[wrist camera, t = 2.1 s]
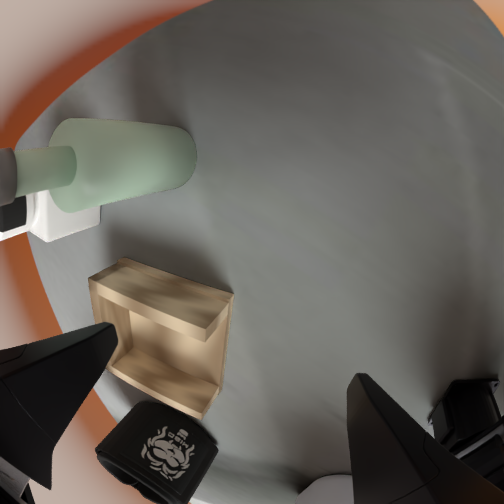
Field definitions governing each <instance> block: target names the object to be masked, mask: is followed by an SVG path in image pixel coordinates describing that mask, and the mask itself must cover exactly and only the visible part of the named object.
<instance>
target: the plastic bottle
mask: <svg viewBox="0 0 504 504" xmlns="http://www.w3.org/2000/svg"><path fill="white" fill-rule="evenodd" d="M295 504H354V497H353V482H352V476H351V475H330V476H325V477H322V478H319V479H317V480H316V481H314V482H313V483H312V484H311V485H310V486H309V487H307V488H306V489H305V490H304V491H303V492H302V493H300V494H299V495H298V496H297V498H296V501H295Z"/></svg>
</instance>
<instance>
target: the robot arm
mask: <svg viewBox="0 0 504 504" xmlns="http://www.w3.org/2000/svg"><path fill="white" fill-rule="evenodd" d="M117 345H118V336H117V332H116V328H115V325H114V324H112V323H109V322H102V323H98V324H95V325H91V326H88V327H85V328H81V329H78V330H74V331H71V332H68V333H64V334H61V335H57V336H54V337H50V338H47V339H43V340H39V341H36V342H32V343H29V344H24V345H21V346H16V347H12V348H8V349H3V350H0V504H35V502H34V499H33V496H32V493H31V490H30V486H29V483H28V481H29V480H30V478H31V479H32V480H34V481H36V482H37V483H39V484H40V485H42V486H44V487H45V488H47V489H49V490H51V486H52V481H51V480H52V454H53V450H54V447H55V446H56V444H57V442H58V440H59V439H60V437H61V436H62V434H63V433H64V431H65V429H66V428H67V426H68V425H69V423H70V421H71V420H72V418H73V417H74V415H75V414H76V412H77V411H78V409H79V407H80V406H81V404H82V403H83V401H84V400H85V398H86V397H87V395H88V394H89V392H90V391H91V389H92V388H93V386H94V385H95V383H96V382H97V381H98V379H99V378H100V376H101V375H102V373H103V372H104V370H105V368H106V366H107V364H108V362H109V360H110V359H111V357H112V355H113V353H114V351H115V349H116V347H117ZM499 384H500V381H499V379H484V380H455V381H453V382H452V383H451V385H450V386H449V388H448V390H447V392H446V393H445V395H444V397H443V398H442V400H441V401H440V403H439V404H438V406H437V408H436V409H435V411H434V412H433V414H432V416H431V417H430V419H429V420H428V425H429V426H433V430H434V437H435V439H434V438H433V437H432V436H431V435H430V434H429V433H428V432H426V431H425V430H424V429H423V428H422V427H421V426H420V425H419V424H418V423H417V422H416V421H415V420H414V419H413V418H412V417H411V416H410V415H409V414H408V413H407V412H406V411H405V410H404V409H403V408H402V407H401V406H400V405H399V404H398V403H396V402H395V401H394V400H393V399H392V398H391V397H390V396H389V395H388V394H387V393H386V392H385V391H384V390H383V389H382V388H381V387H380V386H379V385H378V384H377V383H376V382H375V381H374V380H373V379H372V378H371V377H370V376H369V375H368V374H366V373H356V374H355V376H354V377H353V379H352V381H351V382H350V384H349V386H348V389H347V431H348V439H349V449H350V458H351V469H352V482H353V497H354V504H504V415H503V416H502V417H501V414H500V411H499V409H498V406H497V403H496V400H495V398H494V395H493V394H494V392H495V391H496V389H497V387H498V386H499Z"/></svg>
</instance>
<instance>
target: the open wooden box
mask: <svg viewBox="0 0 504 504" xmlns="http://www.w3.org/2000/svg"><path fill="white" fill-rule="evenodd" d="M88 283H89V290H90V297H91V303H92V309H93V314H94V320H95V324H98V323H102V322H109V323H112V324H114V325H115V328H116V332H117V336H118V345H117V347H116V349H115V351H114V353H113V355H112V357H111V359H110V360H109V362H108V364H107V366H106V369H107V370H108V371H110V372H111V373H113V374H114V375H116V376H118V377H119V378H121V379H122V380H124V381H126V382H127V383H129V384H131V385H133V386H134V387H136V388H138V389H140V390H141V391H143V392H145V393H147V394H149V395H150V396H152V397H154V398H156V399H158V400H160V401H162V402H164V403H166V404H168V405H170V406H172V407H174V408H176V409H178V410H180V411H182V412H184V413H186V414H189V415H191V416H193V417H195V418H198V419H200V420H202V418H203V417H204V415H205V414H206V412H207V411H208V409H209V408H210V406H211V405H212V403H213V401H214V400H215V398H216V397H217V395H219V393H220V392H221V390H222V386H223V378H224V369H225V361H226V353H227V345H228V337H229V330H230V322H231V314H232V307H233V299H234V294H232V293H229V292H225V291H222V290H219V289H216V288H213V287H210V286H206V285H203V284H200V283H197V282H194V281H191V280H188V279H185V278H182V277H179V276H176V275H173V274H170V273H167V272H164V271H162V270H159V269H156V268H153V267H150V266H147V265H145V264H142V263H139V262H136V261H133V260H131V259H128V258H125V257H123V258H121V259H119V260H117V264H115V265H112V266H110V267H108V268H106V269H104V270H102V271H101V272H99V273H97V274H95V275H93V276H91V277H89V278H88Z"/></svg>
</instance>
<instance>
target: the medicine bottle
mask: <svg viewBox="0 0 504 504" xmlns="http://www.w3.org/2000/svg"><path fill="white" fill-rule="evenodd" d="M100 207H101V205H100V206H96V207H92V208H88V209H85V210H81V211H77V212H74V213H66V212H63V211H62V210H60V209H59V208H58V207H57V205H56V204H55V203H54V201H53V199H52V197H51V195H50V192H49V190H45V191H41V192H36V193H32V194H28V195H24V196H20V197H16V198H15V199H14V201H13V202H12V203H10V204H6V205H3V206H0V241H2V240H4V239H7V238H9V237H12V236H15V235H18V234H21V233H24V232H26V231H28V230H29V231H30V232H32V233H33V234H35V235H36V236H38V237H39V238H41V239H42V240H44V241H45V242H50V241H53V240H56V239H58V238H61V237H64V236H67V235H69V234H72V233H75V232H78V231H81V230H84V229H87V228H90V227H93V226H96V225H98V224H99V223H100Z"/></svg>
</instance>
